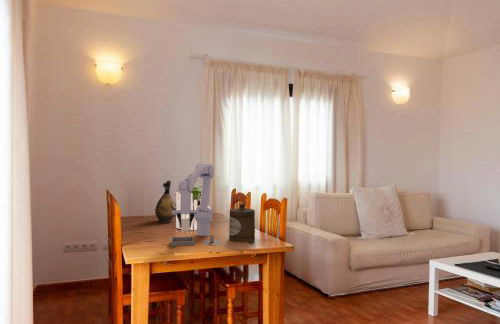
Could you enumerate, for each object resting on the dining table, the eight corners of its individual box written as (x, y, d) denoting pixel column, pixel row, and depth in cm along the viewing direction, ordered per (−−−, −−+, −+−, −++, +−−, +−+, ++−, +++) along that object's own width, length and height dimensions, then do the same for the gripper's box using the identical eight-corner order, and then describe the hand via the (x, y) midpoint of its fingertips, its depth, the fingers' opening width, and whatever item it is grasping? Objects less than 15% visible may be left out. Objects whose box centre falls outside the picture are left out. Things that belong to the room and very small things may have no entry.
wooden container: (225, 239, 233) (226, 202, 233) (248, 237, 240) (249, 201, 239) (234, 245, 220) (235, 205, 219) (259, 243, 226) (259, 204, 226)
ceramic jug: (174, 223, 283) (174, 181, 283) (152, 223, 283) (153, 181, 283) (178, 219, 300) (179, 180, 300) (158, 219, 300) (158, 179, 300)
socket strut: (181, 231, 215) (181, 220, 215) (181, 229, 220) (181, 218, 220) (189, 230, 216) (189, 219, 216) (189, 229, 221) (189, 218, 221)
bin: (171, 242, 223) (171, 237, 223) (193, 242, 225) (193, 236, 225) (171, 247, 211) (171, 242, 211) (194, 247, 213) (194, 241, 213)
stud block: (202, 242, 225) (202, 232, 225) (219, 241, 227) (219, 232, 227) (203, 247, 214) (203, 237, 213) (222, 246, 215) (222, 236, 215)
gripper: (172, 203, 213) (171, 228, 213) (199, 203, 215) (199, 228, 216) (172, 202, 219) (171, 226, 220) (198, 201, 222) (198, 226, 223)
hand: (185, 227), depth 218 cm, fingers closed on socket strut, 4 cm apart
